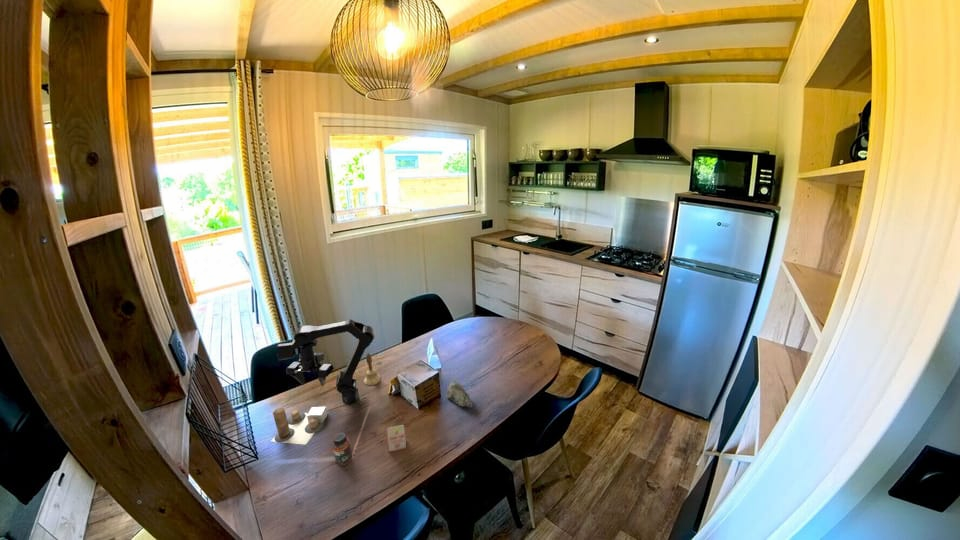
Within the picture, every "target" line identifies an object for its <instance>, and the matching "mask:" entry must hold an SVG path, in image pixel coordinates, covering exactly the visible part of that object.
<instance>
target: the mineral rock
mask: <svg viewBox="0 0 960 540" xmlns="http://www.w3.org/2000/svg"><path fill="white" fill-rule="evenodd" d="M446 399H447V400H451V402H453V403H455V404H457V405H458V406H459V407H465V408H473V404H472V403H473V402H472V400H471V398H470V395H469V393H467V391H466V390H465V389H464V387H463V385H462V384H461V383H459V382H457V381H455V380H452V381H451V382H450V384H449V385H448V387H447V391H446Z"/></svg>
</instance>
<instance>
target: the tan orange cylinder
mask: <svg viewBox="0 0 960 540" xmlns="http://www.w3.org/2000/svg"><path fill="white" fill-rule="evenodd" d="M272 415H273V419H274V423H275V426H276V431H277V433H278V434H279V438H280V439H284V438H287V437H288V436H289V435H290V429H289V425H288V421H287V419H288V417H287V414H286V410H285V408H284V407H279V408H276V409H274V410H273V412H272Z"/></svg>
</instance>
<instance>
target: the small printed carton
mask: <svg viewBox="0 0 960 540" xmlns="http://www.w3.org/2000/svg"><path fill="white" fill-rule="evenodd" d="M385 434H386V444H387V450H388V451H387V452H388V453H389V452H391V453H392V452H394V451H395V452H396V451H399V450H405V449H407V443H406V442H407V441H406V431H405V424H400V425H394V426H390V427H386V428H385Z"/></svg>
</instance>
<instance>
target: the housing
mask: <svg viewBox="0 0 960 540" xmlns="http://www.w3.org/2000/svg"><path fill="white" fill-rule="evenodd" d="M307 413H308V415H307V418H308V423H309V421H310V420H311V419H313V418H317V421H318V423H321V422H323V423H324V421H325V420H326V418H327V417H326V416H328V410H327V406H312V407H311V408H310V410H309V411H308V412H307ZM325 417H326V418H325Z"/></svg>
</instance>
